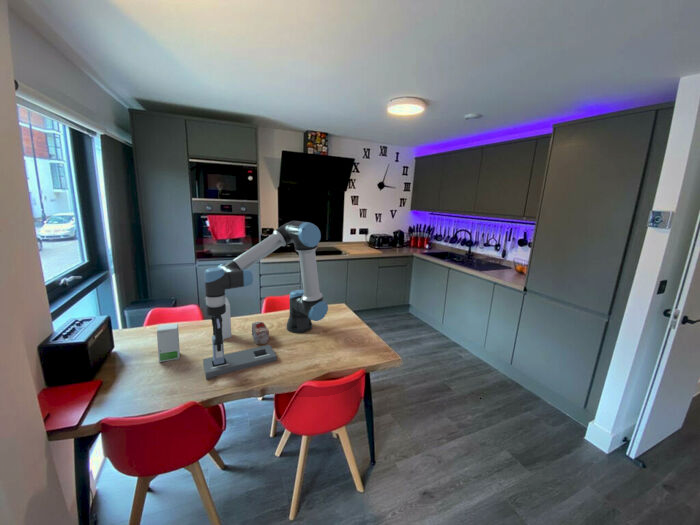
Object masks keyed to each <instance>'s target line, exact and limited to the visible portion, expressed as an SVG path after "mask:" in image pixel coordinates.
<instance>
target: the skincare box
mask: <svg viewBox="0 0 700 525" xmlns="http://www.w3.org/2000/svg"><path fill="white" fill-rule="evenodd" d="M179 332H180V330H179V322H178V323H168V324H160V325H157V328H156V340H157V341H156V342H157V355H158V363H162V362H169V361H174V360H180V353H181V352H180V336H179V335H180V333H179Z"/></svg>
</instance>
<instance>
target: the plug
mask: <svg viewBox="0 0 700 525" xmlns="http://www.w3.org/2000/svg"><path fill="white" fill-rule="evenodd" d="M222 340H223V341H224V339H223V336H222ZM211 343H212V345H211V346H212V355H213V356H212V357H213V361H214V365H218V364H222V363H224V354H225V351H224V350H225V348H224V346H225V345H224V343H223V344H222V351H223V357H219V358H216V352H215V345H214V343H216V342H215V335H212V336H211Z"/></svg>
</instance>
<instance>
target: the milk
mask: <svg viewBox="0 0 700 525" xmlns="http://www.w3.org/2000/svg"><path fill="white" fill-rule="evenodd" d="M225 299H226V303H225V304H226V312H225V313H224V314H222V315H221V318H222V336H223V340H225V339H230V338H232V323H231V322H232V320H231V317H232V316H231V304H230V302H229V298H228V297H225Z"/></svg>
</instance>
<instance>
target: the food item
mask: <svg viewBox="0 0 700 525" xmlns="http://www.w3.org/2000/svg"><path fill="white" fill-rule="evenodd" d="M251 336H252V339H253V341H254V343H255V344H256V345H257V346H259V345H268V344H269V342H270V331H269V329H268V328H267V326H266V324H265V323H264V321H255V322H253V323H251Z"/></svg>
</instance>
